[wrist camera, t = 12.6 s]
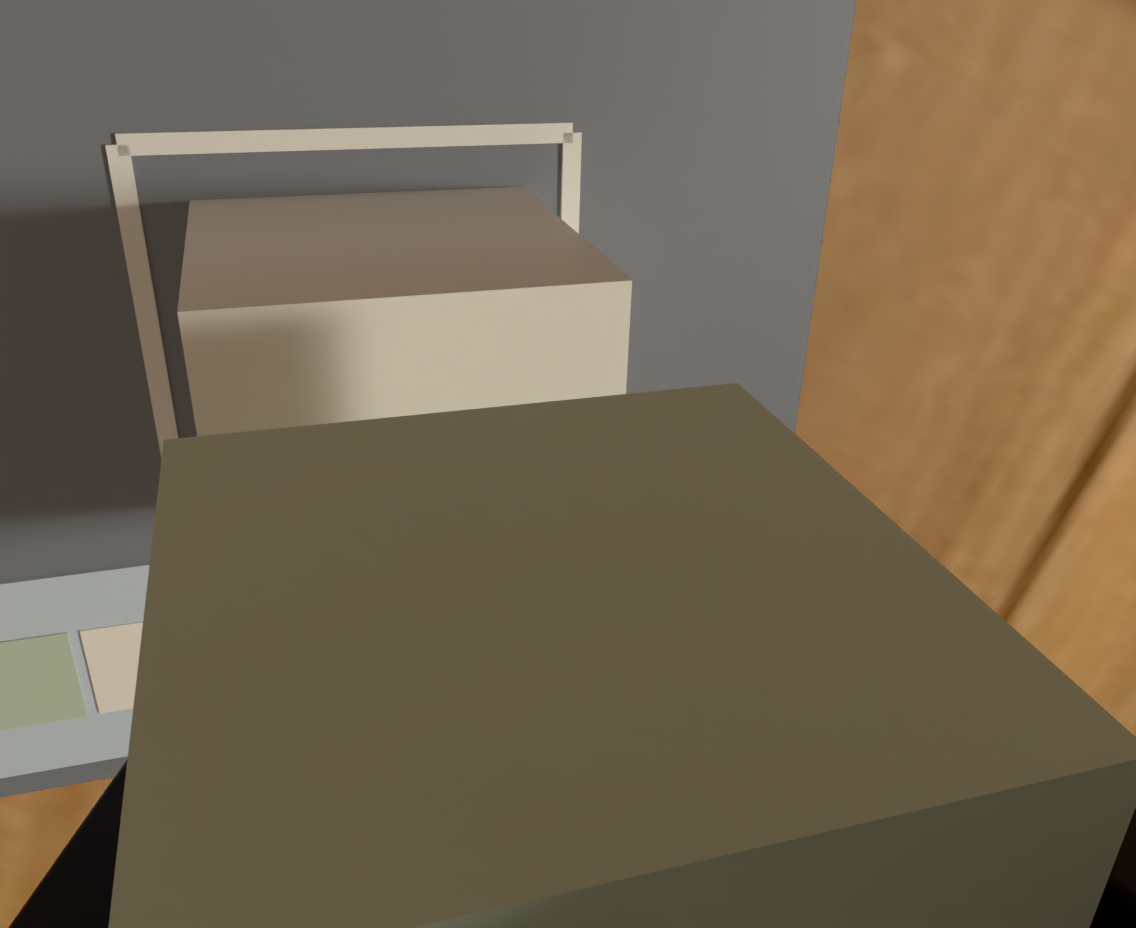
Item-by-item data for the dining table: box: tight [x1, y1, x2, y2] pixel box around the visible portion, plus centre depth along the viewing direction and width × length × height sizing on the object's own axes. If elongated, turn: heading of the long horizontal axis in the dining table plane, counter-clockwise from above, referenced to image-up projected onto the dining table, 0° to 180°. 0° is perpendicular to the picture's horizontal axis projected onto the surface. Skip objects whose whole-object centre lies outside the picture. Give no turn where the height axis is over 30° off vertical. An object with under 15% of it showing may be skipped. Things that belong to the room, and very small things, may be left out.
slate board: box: [0, 0, 856, 797], centre depth 17 cm, size 16×16×1 cm
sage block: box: [108, 383, 1136, 928], centre depth 8 cm, size 5×5×5 cm
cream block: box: [177, 186, 632, 436], centre depth 14 cm, size 5×5×5 cm
